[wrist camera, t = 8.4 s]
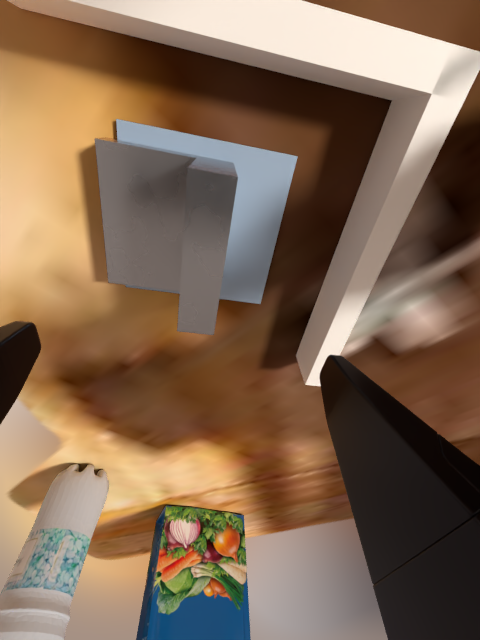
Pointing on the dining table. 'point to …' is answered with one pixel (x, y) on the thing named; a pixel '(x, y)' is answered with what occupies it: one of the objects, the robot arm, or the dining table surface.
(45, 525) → the bottle
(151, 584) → the blue food package
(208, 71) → the dining table surface
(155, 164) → the bracket
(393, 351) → the dining table surface
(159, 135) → the mat
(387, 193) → the l-shaped block
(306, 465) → the dining table surface
